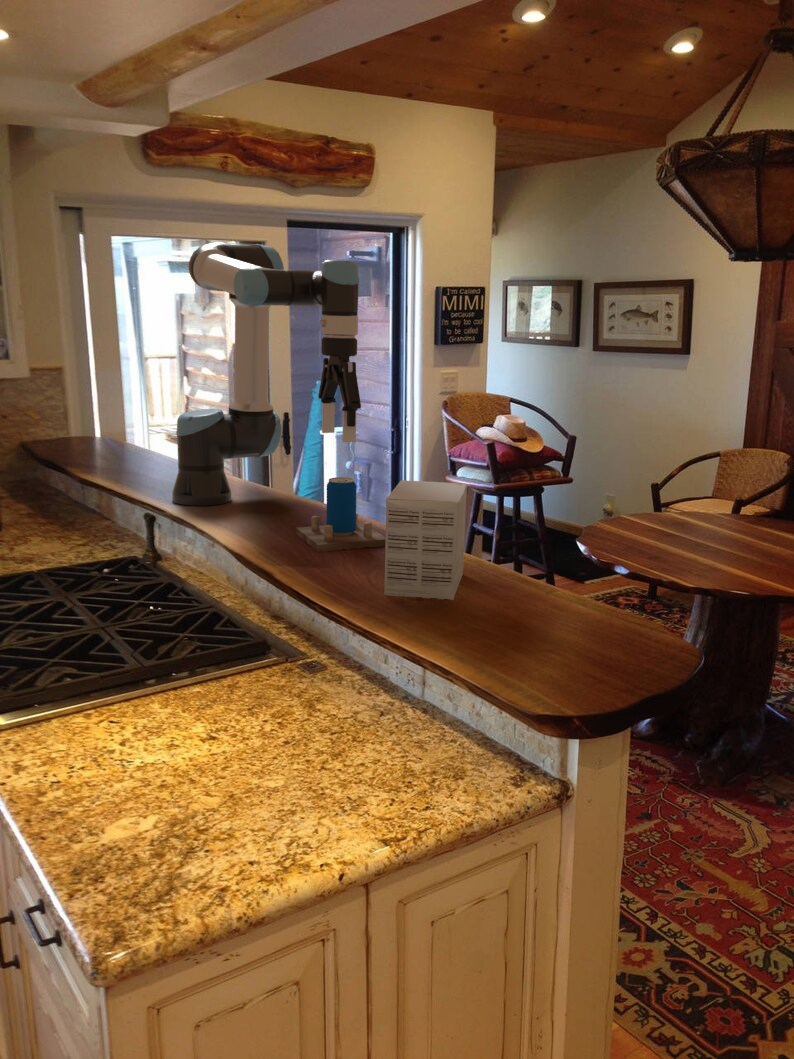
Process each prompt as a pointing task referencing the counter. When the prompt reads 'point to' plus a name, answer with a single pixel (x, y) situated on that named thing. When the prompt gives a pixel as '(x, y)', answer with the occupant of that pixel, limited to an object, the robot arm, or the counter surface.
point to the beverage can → (341, 505)
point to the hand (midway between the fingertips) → (338, 437)
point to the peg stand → (326, 541)
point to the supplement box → (425, 539)
